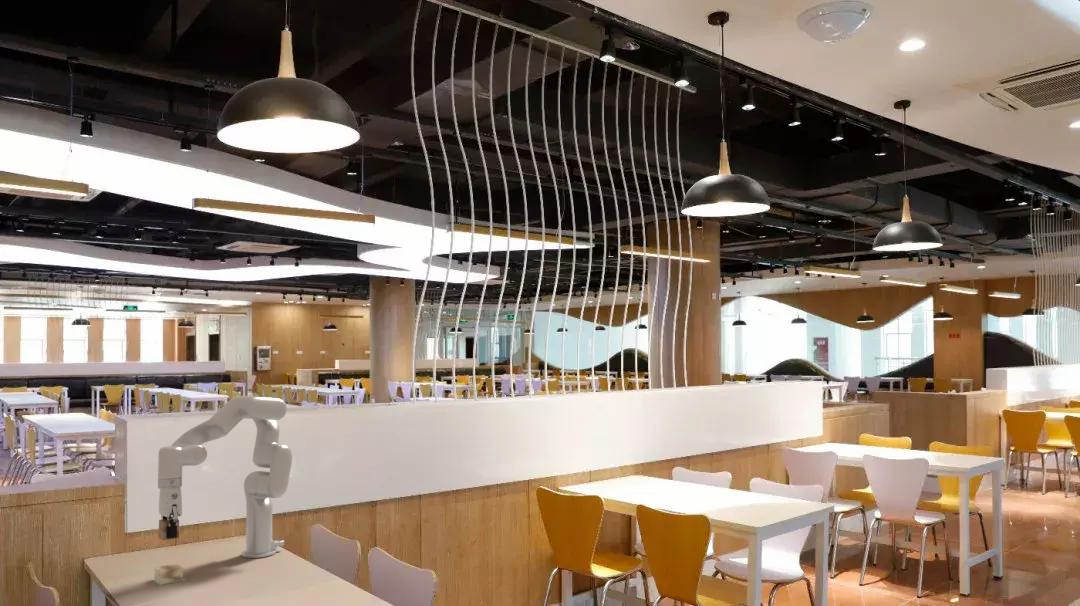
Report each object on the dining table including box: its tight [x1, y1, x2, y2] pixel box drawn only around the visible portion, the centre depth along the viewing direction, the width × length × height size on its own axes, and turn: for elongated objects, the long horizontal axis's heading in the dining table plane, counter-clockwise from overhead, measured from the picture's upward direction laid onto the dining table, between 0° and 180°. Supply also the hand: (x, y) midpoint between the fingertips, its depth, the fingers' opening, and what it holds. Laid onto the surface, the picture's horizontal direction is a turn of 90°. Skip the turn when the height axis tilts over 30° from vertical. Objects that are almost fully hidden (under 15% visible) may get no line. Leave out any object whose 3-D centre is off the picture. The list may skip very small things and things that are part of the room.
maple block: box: [154, 563, 184, 585], centre depth 266 cm, size 7×7×4 cm
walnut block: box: [158, 519, 180, 541], centre depth 266 cm, size 5×5×6 cm
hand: (168, 535), depth 266 cm, fingers closed on walnut block, 4 cm apart
